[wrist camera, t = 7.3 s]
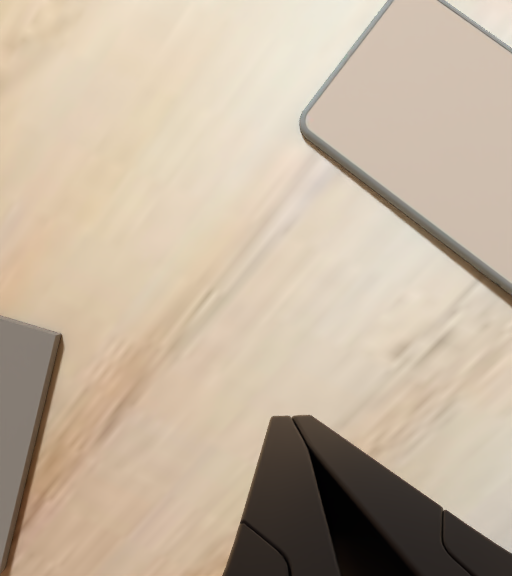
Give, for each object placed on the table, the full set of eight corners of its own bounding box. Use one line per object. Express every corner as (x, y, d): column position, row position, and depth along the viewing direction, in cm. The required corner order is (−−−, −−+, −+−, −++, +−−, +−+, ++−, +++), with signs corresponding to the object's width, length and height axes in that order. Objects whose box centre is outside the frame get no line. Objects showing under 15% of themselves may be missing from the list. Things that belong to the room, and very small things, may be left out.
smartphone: (408, -30, 18) (697, 175, 17) (403, -15, 19) (676, 180, 18) (290, 124, 19) (560, 329, 18) (291, 131, 20) (546, 326, 19)
